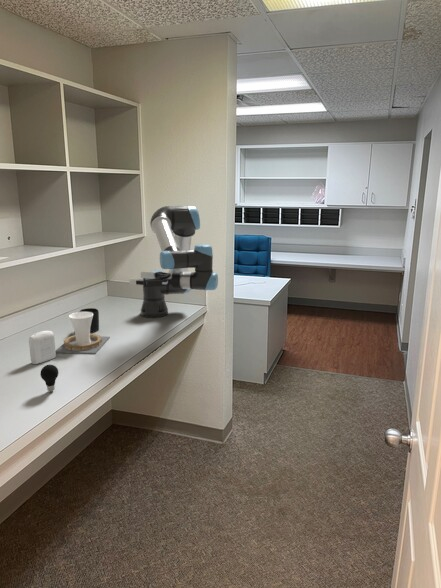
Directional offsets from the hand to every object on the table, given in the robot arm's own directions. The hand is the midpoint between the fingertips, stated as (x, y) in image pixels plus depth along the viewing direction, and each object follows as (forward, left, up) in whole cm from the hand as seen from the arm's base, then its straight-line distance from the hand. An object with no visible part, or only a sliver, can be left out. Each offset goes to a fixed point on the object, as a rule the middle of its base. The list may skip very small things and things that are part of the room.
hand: (135, 278), depth 196 cm
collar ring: (+5, -24, -30) cm, 39 cm away
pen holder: (-15, -28, -30) cm, 44 cm away
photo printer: (+23, -34, -30) cm, 51 cm away
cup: (+5, -24, -30) cm, 38 cm away
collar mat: (+5, -24, -30) cm, 39 cm away
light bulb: (+50, -19, -30) cm, 62 cm away
